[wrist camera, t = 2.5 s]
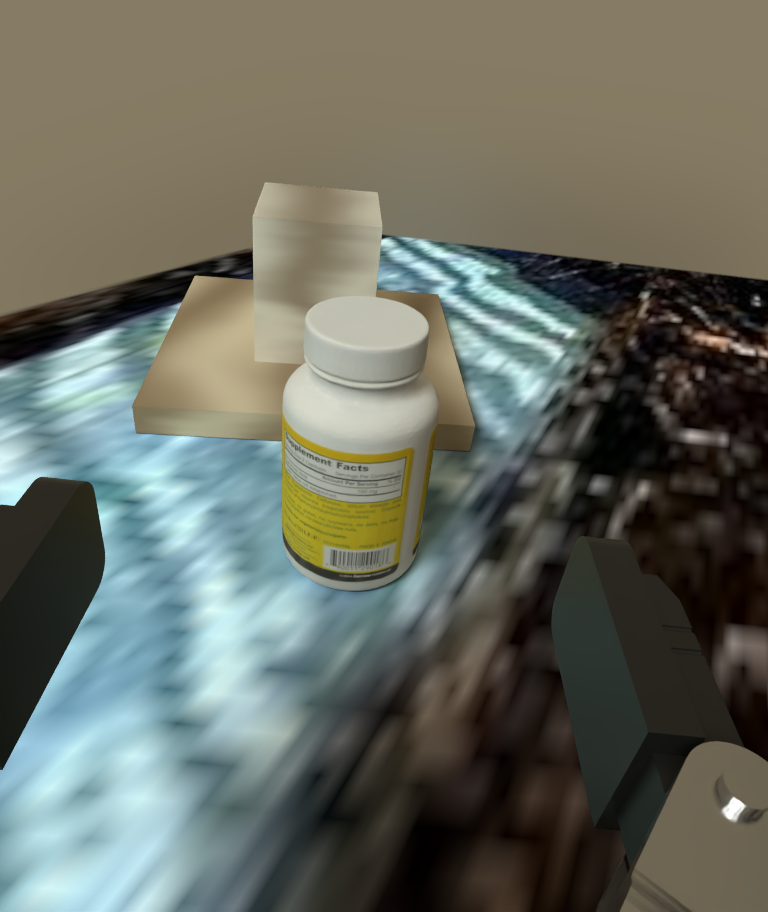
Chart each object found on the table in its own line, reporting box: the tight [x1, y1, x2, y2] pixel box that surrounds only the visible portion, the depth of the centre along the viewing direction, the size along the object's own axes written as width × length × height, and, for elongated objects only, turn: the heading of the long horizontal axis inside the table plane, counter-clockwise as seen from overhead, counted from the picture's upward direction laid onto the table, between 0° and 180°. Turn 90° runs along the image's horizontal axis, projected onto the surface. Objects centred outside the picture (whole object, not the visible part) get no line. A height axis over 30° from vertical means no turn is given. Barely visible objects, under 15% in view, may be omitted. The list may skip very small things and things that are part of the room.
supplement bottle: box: [282, 296, 439, 591], centre depth 24 cm, size 5×5×10 cm
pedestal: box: [132, 182, 475, 451], centre depth 36 cm, size 16×16×9 cm
